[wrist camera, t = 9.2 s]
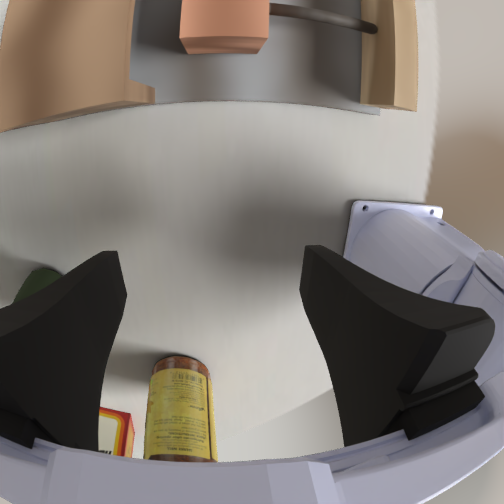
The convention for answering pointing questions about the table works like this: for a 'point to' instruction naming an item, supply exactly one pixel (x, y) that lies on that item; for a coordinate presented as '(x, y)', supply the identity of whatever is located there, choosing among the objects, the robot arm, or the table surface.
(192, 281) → the table surface
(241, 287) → the table surface
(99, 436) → the baking soda box
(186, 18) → the pull block
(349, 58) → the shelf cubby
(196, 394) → the sauce bottle
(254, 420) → the table surface
